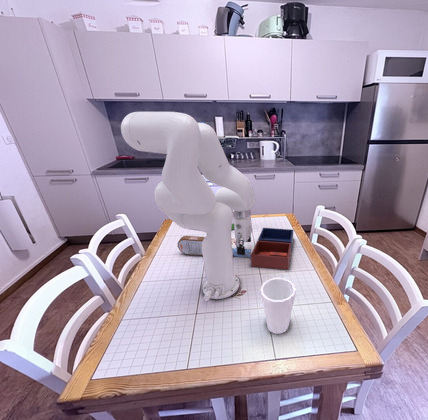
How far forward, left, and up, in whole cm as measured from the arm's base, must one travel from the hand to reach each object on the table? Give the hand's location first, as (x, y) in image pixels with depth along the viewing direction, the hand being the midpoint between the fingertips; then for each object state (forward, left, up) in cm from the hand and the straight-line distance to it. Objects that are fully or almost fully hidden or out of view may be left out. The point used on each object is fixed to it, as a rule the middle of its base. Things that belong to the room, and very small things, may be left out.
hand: (244, 247), depth 101 cm
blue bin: (+10, -12, -3) cm, 16 cm away
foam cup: (-34, -19, -3) cm, 39 cm away
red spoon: (-2, -13, -3) cm, 13 cm away
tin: (-3, +21, -3) cm, 21 cm away
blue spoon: (-1, +3, -3) cm, 4 cm away
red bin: (-3, -12, -3) cm, 13 cm away
